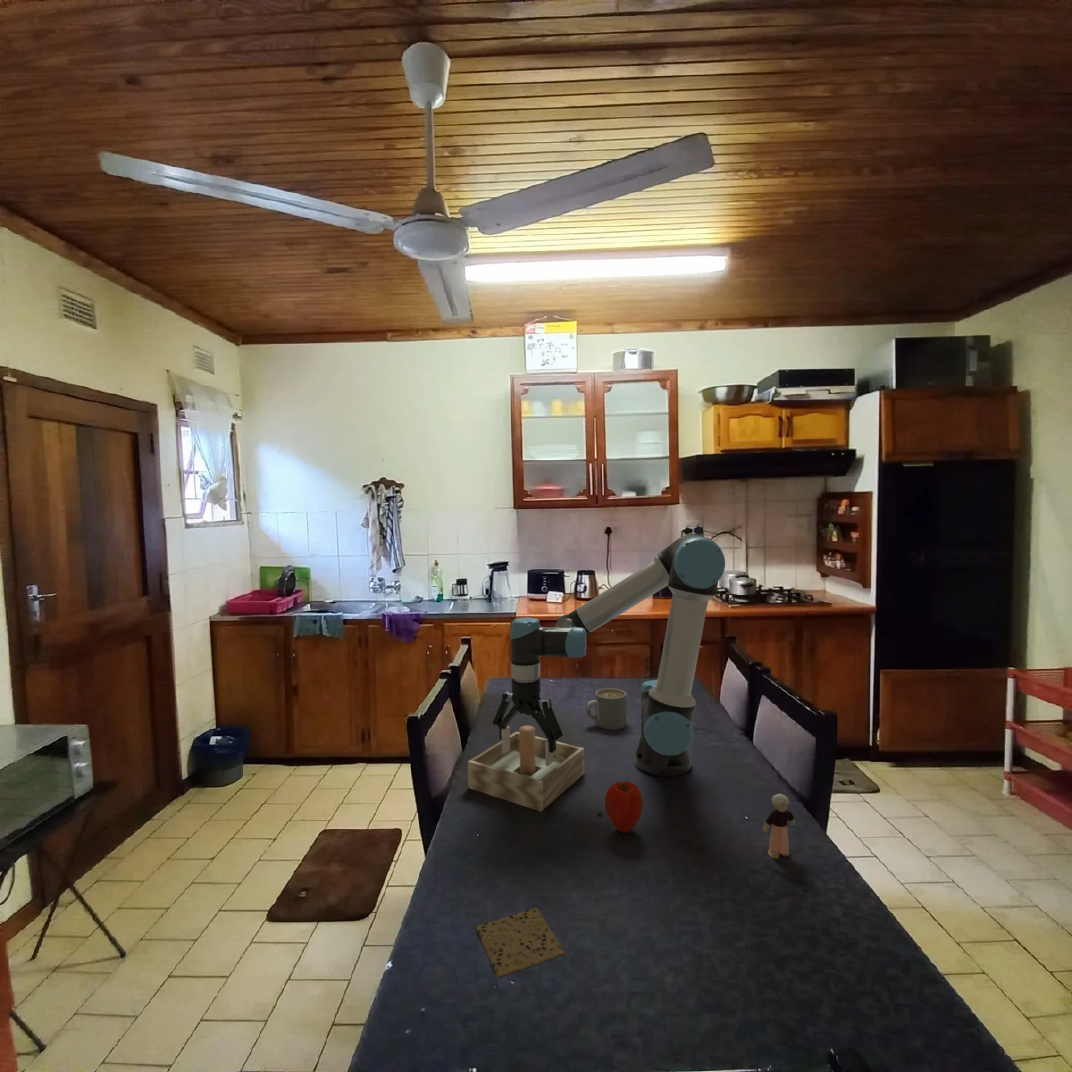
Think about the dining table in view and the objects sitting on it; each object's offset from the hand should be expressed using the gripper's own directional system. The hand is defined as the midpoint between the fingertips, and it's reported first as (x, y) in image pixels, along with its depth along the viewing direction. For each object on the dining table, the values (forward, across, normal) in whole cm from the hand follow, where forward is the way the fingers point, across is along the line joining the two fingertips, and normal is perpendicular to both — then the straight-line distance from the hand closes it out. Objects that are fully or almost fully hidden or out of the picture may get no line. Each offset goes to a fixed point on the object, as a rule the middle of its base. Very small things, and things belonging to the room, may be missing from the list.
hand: (527, 757), depth 154 cm
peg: (+6, 0, 0) cm, 6 cm away
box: (+6, 0, 0) cm, 6 cm away
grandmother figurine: (+6, -62, -1) cm, 62 cm away
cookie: (+7, -29, +47) cm, 56 cm away
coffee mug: (+6, -1, -45) cm, 45 cm away
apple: (+6, -31, +8) cm, 33 cm away
